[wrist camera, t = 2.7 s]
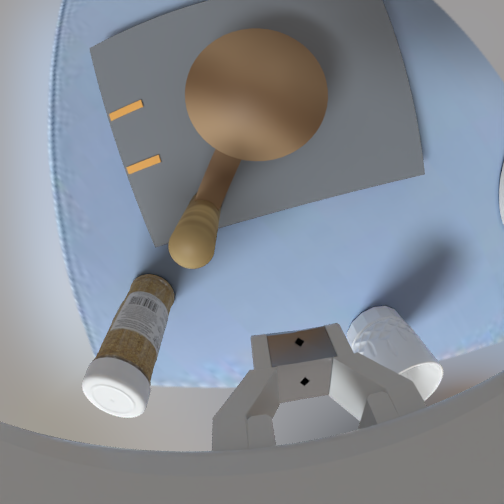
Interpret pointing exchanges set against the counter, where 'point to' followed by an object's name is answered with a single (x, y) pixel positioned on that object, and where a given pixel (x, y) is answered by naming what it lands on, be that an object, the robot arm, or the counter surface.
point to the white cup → (395, 347)
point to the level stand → (271, 171)
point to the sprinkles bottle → (130, 349)
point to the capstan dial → (245, 120)
